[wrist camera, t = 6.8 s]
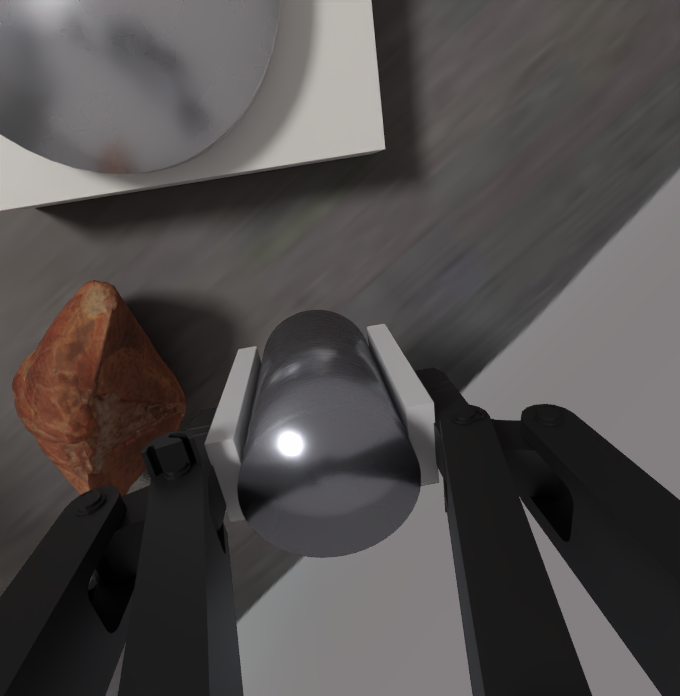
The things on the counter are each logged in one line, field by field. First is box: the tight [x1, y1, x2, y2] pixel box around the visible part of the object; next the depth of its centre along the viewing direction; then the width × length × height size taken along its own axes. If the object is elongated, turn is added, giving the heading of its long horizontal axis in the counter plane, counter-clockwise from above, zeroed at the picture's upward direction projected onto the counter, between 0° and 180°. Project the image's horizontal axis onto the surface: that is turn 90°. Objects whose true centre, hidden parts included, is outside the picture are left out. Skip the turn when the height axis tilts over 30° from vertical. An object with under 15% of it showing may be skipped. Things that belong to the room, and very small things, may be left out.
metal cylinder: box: [237, 310, 421, 558], centre depth 14 cm, size 5×5×8 cm
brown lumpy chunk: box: [12, 280, 186, 497], centre depth 22 cm, size 13×8×10 cm
